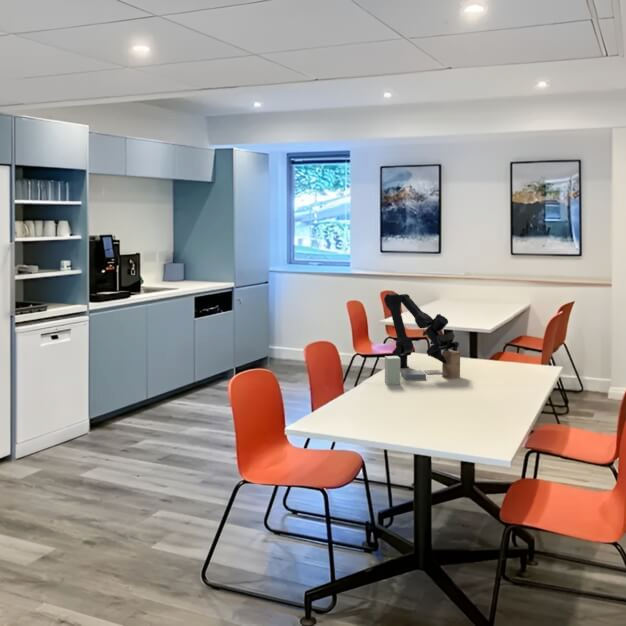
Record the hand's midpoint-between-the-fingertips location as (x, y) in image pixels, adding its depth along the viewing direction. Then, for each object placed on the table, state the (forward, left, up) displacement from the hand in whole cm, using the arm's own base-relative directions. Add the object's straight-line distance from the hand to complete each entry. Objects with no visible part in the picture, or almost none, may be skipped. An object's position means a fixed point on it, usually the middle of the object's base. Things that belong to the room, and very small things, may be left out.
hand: (452, 362), depth 364 cm
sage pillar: (+9, -32, -7) cm, 34 cm away
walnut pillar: (-1, 0, -7) cm, 7 cm away
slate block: (-2, -19, -8) cm, 20 cm away
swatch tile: (-12, -6, -7) cm, 15 cm away
